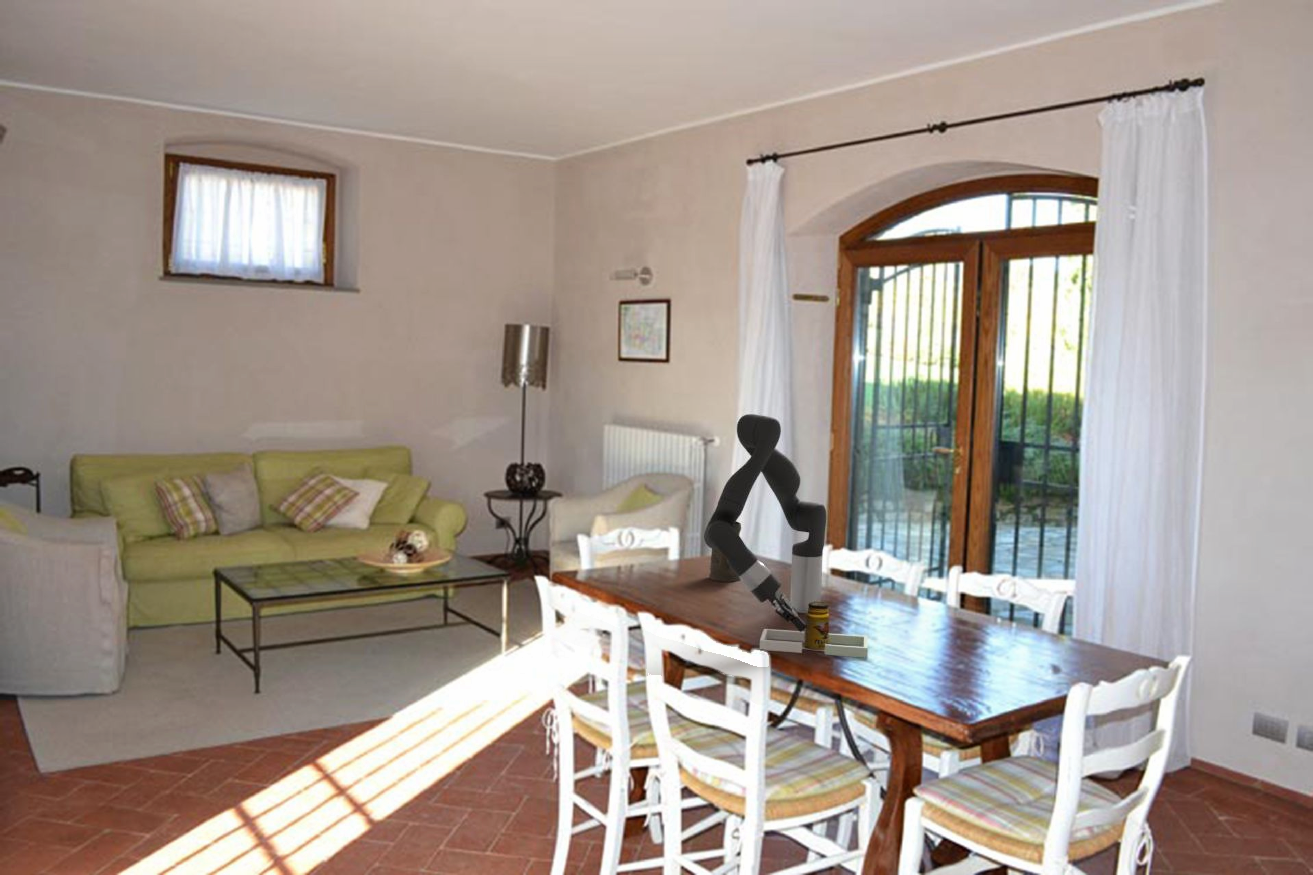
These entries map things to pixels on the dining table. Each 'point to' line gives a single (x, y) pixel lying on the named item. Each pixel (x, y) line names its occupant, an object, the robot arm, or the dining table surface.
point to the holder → (781, 645)
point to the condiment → (816, 627)
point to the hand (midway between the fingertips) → (803, 629)
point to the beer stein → (723, 564)
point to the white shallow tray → (847, 650)
